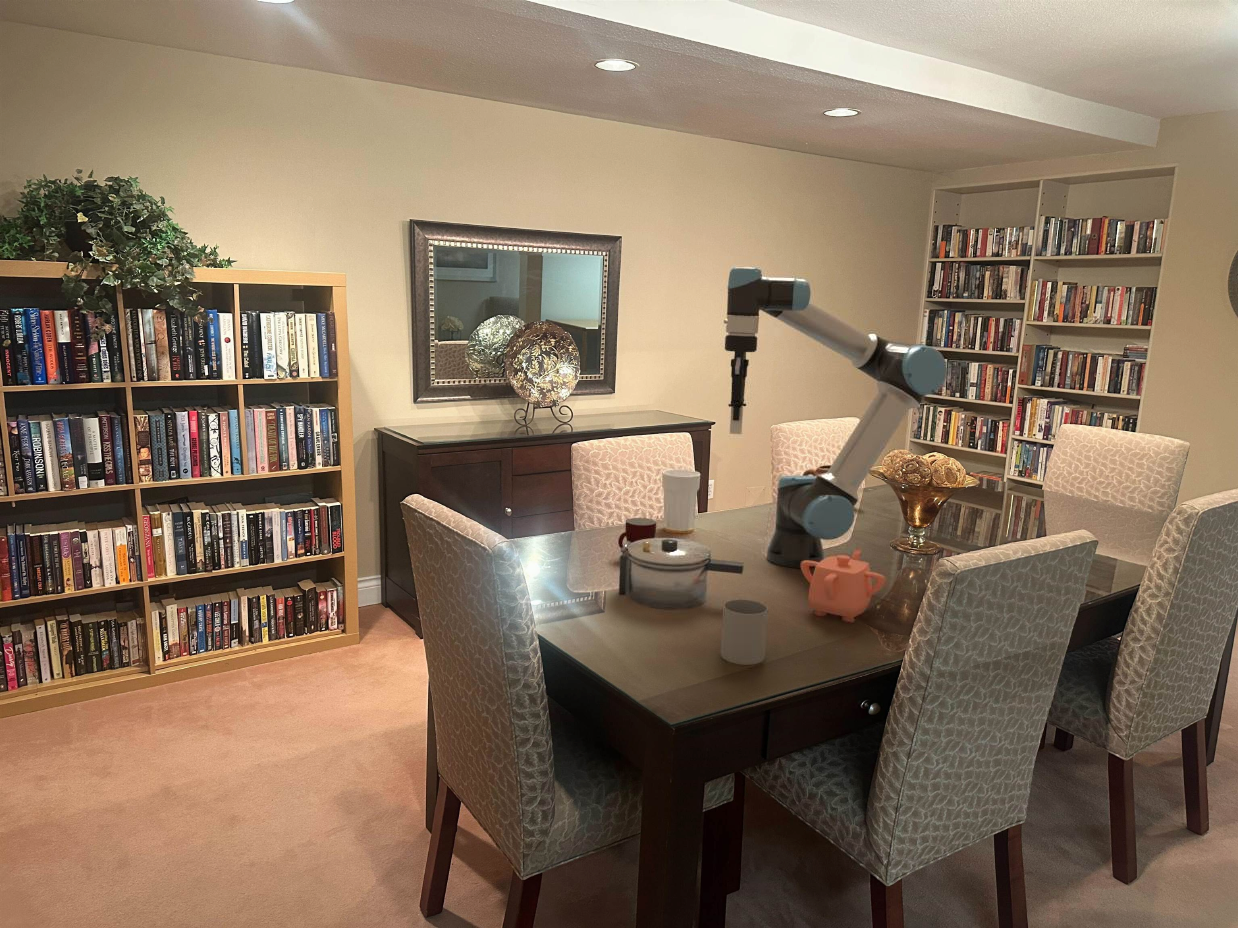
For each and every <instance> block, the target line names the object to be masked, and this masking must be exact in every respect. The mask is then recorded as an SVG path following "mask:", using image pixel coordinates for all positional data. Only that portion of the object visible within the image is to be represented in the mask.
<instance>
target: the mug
mask: <svg viewBox="0 0 1238 928" xmlns="http://www.w3.org/2000/svg"><path fill="white" fill-rule="evenodd" d="M656 532H657V521H656V520H654V519H651V518H645V517H632V518H631V517H630V518H628V519H625V532H622V533H621V534H620V535H619V537H618V544H617V545H618V547H619V548H620V549H621V548H622V547H623V546H624V545H623V543H624V542H623V541H624V539H625V538H626V542H627V541H630V542H631V543H632V542H635V541H638V540H643V539H650V538H656ZM626 551H628V549H627V550H626Z"/></svg>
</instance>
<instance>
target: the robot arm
mask: <svg viewBox="0 0 1238 928" xmlns="http://www.w3.org/2000/svg"><path fill="white" fill-rule="evenodd" d="M727 281H728V283H727V303H726V304H727V305H726V306H727V307H726V308H727V309H726V319H724V320H723V324H726V326H725V332H726V333H728V334H726V335H725V338H724V350H725V351H726V352H734V355H733V358H731V359H730V367H731V369H730V370H731V372H730V375H731V376H730V377H731V390H730V391H731V393H730V394H731V395H730V396H731V397H730V403H728V404H727V405H728V407H729V408H730V424H729V434H732V435H742V432H743V431H742V430H743V417H744V416H743V415H744V414H743V412H744V407H746V406H747V403H745V390H746V389H745V388H746V378H747V377H748V367H749V365H750V364H749V362H750V360H749V358H748V359H747V353H756V351H758V350H757V349H758V337H757V336H756V334H758V333H759V321H760V317H759V316H760V311H761V312H764V313H765V314H767V315H769V316H771V317H773V318H775V319H777V320H778V321H779V322H782V323H784V324H786V325H787V326H789V327H791V328H793V329H795V330H796V331H797V332H800V333H802V334H803V335H805V336H807V337H809V338H810V339H813V340H814V341H816V342H817V343H820V344H822V345H823V346H825V347H826V348H828V349H831V350H832V351H834V352H836V353H837V354H839V355H840V356H843V357H844V358H846V359H847V360H850V361H851V364H852V366H853V367H854V368H856V369H857V370H860V371H861V372H863V373H864V374H866V375H867V376H869V377H870V378H871V379H873V380H875V381H877V382H876V384H877V388H878V391H877V394H876V395H875V396H874V398H873V399H872V400H871V403H870V404H869V406H868V407H867V409H866V411H865V412H864V414H863V415H862V417H861V419H860V420H859V422H858V423H857V424H856V426H855V428H854V430H853V432H852V433H851V434H850V436H849V437H848V439H847V440H846V442H845V444H844V445H843V447H842V449H841V450H840V452H839V453H838V454H837V456H836V457H835V459H834V461H833V462H832V463H831V464H830V465H831V467H830V469H829V470H828V472H826V473H824V474H820V475H818V476H813V475H808V476H803V475H784V476H780V478H779V480H778V485H777V489H776V490H777V494H776V495H777V497H776V513H775V529H774V532H773V535H772V538H771V540H770V542H769V545H768V547H767V551H766V559H767V560H768V561H769V562H771V563H773V564H776V565H779V566H783V567H788V568H797V569H798V568H799V569H801V566H800V565H801V562H802V561H805V560H809V561H815V562H820V561H822V560H823V559H825V551H824V548H823V543H822V540H824V541H825V540H826V541H830V540H836V539H839V538H840V537H843V536H844V535H845V534H846V533H847V532H848V531H849V530H850V529H852V526H853V524H854V521H855V509H854V508H855V507H856V504H857V503H858V501H859V495H858V489H859V488H860V487H861V485H862V483H863V482H864V481H865V479H866V477H867V476H868V474H869V472H870V471H871V470H872V468H873V466H874V465H875V463H876V462H877V460H878V459H879V457H880V455H881V454H882V452H883V451H884V449H885V448H886V446H887V444H888V443H889V442H890V440H891V438H892V437H893V435H894V434H895V433H896V431H897V429H898V427H899V426H900V425H901V423H902V421H903V420H904V418H905V416H906V415H907V414H908V412H909V411H910V410H911V409H914V408H919V406H920V405H921V403H922V402H923V400H924V399H925V397H926V396H928V395H932V394H934V393H936V392H937V391H939V390H940V389H941V388H942V387H943V385H944V383H945V381H946V378H947V374H948V373H947V372H948V369H947V368H948V367H947V366H946V365H947V364H946V360H945V358H944V356H943V354H942V353H941V352H940V351H938V349H936V348H934V347H932V346H929V345H926V344H920V343H918V344H913V343H911V344H910V343H903V342H896V341H892V340H888V339H884V338H882V337H879V336H878V335H876V334H875V333H869V334H866V333H864V332H862V331H861V330H860V329H857V328H856V327H854V326H852V325H850V324H848V323H846V322H845V321H844V320H841V319H840V318H838V317H836V316H834V315H833V314H831V313H829V312H827V311H825V310H824V309H822V308H820V307H819V306H817V305H815V304H814V303H811V302H810V301H811V293H812V291H811V286H810V284H809V281H807V280H806V279H802V278H796V277H794V278H791V277H790V278H789V277H765V276H763V274H762V269H761V268H758V267H733V268H732V269H731V270H730V271H729V276H728V280H727ZM812 568H816V567H815V566H809V569H812Z"/></svg>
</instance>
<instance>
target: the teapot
mask: <svg viewBox="0 0 1238 928" xmlns="http://www.w3.org/2000/svg"><path fill="white" fill-rule="evenodd" d="M861 554H862V549H860V548H859V549H856V550H853V553H852V555H851V557H850V556H848V555H846V554H845V555H843V554H840V555H838V554H837V555H836V556H834V555H832V556H831V555H830V556H828V557H826V558H825V557H824V559H823V560H822V561H820V562H815V561H809V560H805V561H802V562H801V565H800V566H801V568H800V569H801V572H802V574H803V576H804V577H805V579H806V580H807V581H808V582H809V591H808V605H809V608H810V609H811V610H814V613H813V614H814V615H816V616H819V617H825V616H827V614H831V615H835V616H841V617H842V618H841V620H842V621H843V622H846V623H854V622H855V617H858V616H859V615H861V614H862V613H863V614H864V612H865V611H866V609H867V608H868V606H869V605H870V602H871V600H872V596H873V595H875V594H877V593H878V592H879V591H880V590H881V589H882V588H883V587H884V586H885V584H886V582H887V581H886V577H885V576H884V575H883V574H880V573H878V572H872V571H871V569H870V568H871V567H870V563H869V562H867V561H862V560H860V556H861ZM809 566H815V567H814V572H813V574H812V572H811V570H810V568H809ZM872 578H873V579H875V584H874V585H872V584H873V582H872Z"/></svg>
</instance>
